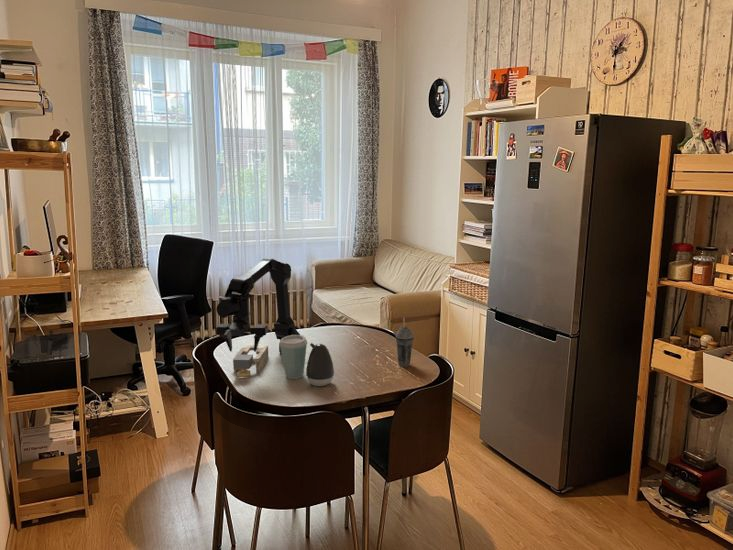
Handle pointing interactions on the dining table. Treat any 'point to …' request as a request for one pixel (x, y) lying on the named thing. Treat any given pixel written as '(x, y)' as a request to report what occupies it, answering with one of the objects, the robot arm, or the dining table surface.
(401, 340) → the beverage cup
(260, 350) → the keyhole board
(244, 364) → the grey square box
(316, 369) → the pump dispenser
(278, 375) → the dining table surface
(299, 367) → the disposable coffee cup
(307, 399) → the dining table surface
